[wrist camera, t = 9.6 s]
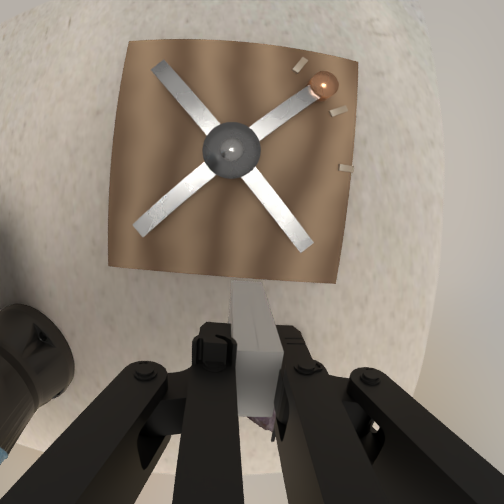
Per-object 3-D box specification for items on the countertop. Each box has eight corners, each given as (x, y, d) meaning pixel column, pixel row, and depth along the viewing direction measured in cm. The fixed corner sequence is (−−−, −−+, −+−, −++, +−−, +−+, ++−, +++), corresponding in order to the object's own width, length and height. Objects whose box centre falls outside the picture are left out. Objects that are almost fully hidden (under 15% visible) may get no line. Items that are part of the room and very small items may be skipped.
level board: (112, 262, 35) (106, 267, 33) (132, 45, 29) (127, 39, 27) (331, 279, 37) (337, 285, 35) (353, 65, 31) (360, 60, 29)
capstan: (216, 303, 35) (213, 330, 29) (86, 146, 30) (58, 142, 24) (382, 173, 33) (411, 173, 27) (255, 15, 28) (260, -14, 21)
